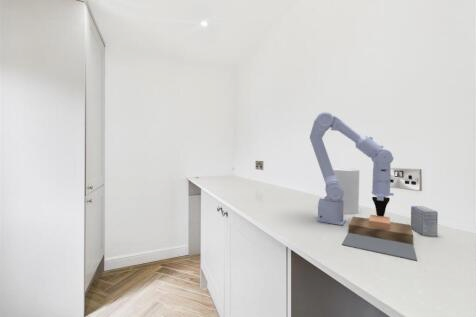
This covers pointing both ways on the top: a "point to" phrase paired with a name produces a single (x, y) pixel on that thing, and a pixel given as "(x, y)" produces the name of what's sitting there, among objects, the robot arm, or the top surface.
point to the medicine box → (424, 220)
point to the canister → (349, 188)
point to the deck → (381, 230)
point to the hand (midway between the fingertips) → (380, 216)
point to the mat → (380, 246)
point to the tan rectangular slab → (379, 222)
